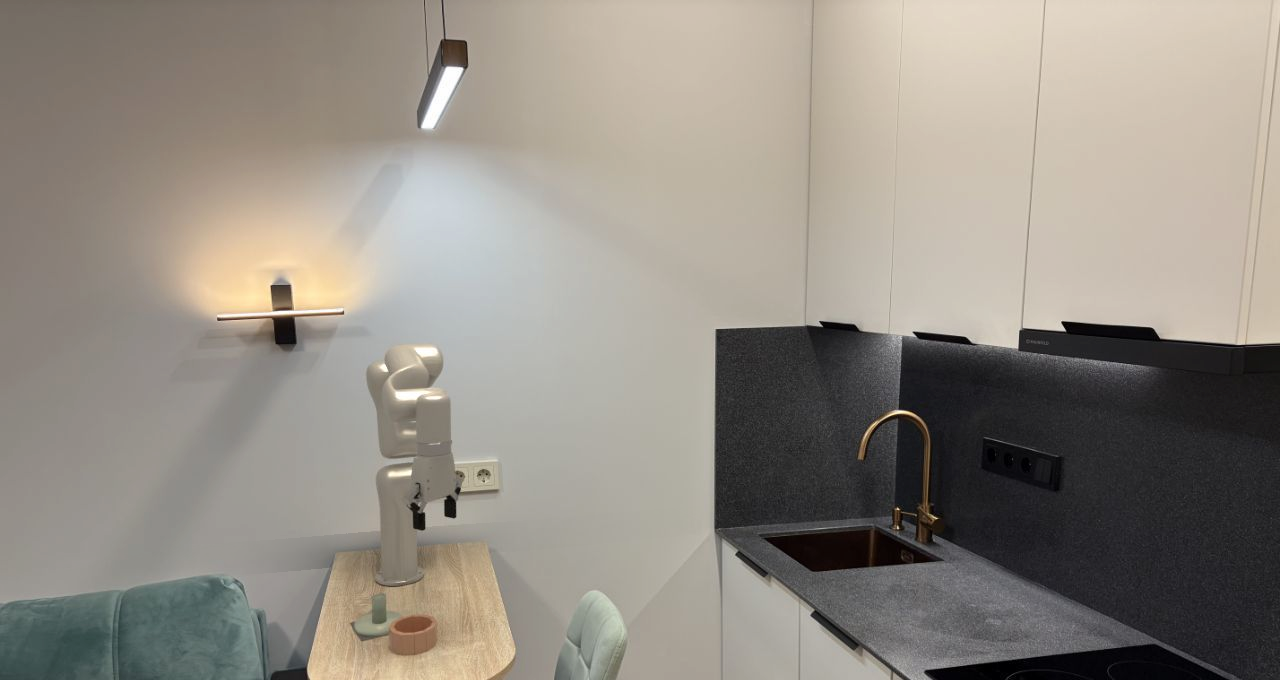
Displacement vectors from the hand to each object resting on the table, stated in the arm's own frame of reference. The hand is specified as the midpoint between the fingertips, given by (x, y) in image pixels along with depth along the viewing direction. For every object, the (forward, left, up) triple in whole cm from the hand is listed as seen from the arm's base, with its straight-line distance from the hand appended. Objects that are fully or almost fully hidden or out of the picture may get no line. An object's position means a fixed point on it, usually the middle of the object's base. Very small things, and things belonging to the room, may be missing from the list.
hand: (435, 523), depth 174 cm
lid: (-13, -9, -27) cm, 31 cm away
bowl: (0, -5, -27) cm, 28 cm away
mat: (-13, -9, -27) cm, 31 cm away
